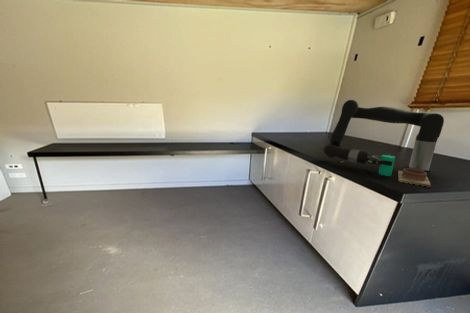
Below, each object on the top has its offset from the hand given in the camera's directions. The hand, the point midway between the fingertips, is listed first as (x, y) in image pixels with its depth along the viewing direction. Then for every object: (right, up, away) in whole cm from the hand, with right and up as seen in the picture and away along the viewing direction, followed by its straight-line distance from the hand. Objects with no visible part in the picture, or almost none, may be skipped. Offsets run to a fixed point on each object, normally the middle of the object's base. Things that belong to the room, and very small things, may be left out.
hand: (393, 162), depth 110 cm
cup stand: (+8, -8, -3) cm, 12 cm away
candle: (-2, -7, +4) cm, 8 cm away
